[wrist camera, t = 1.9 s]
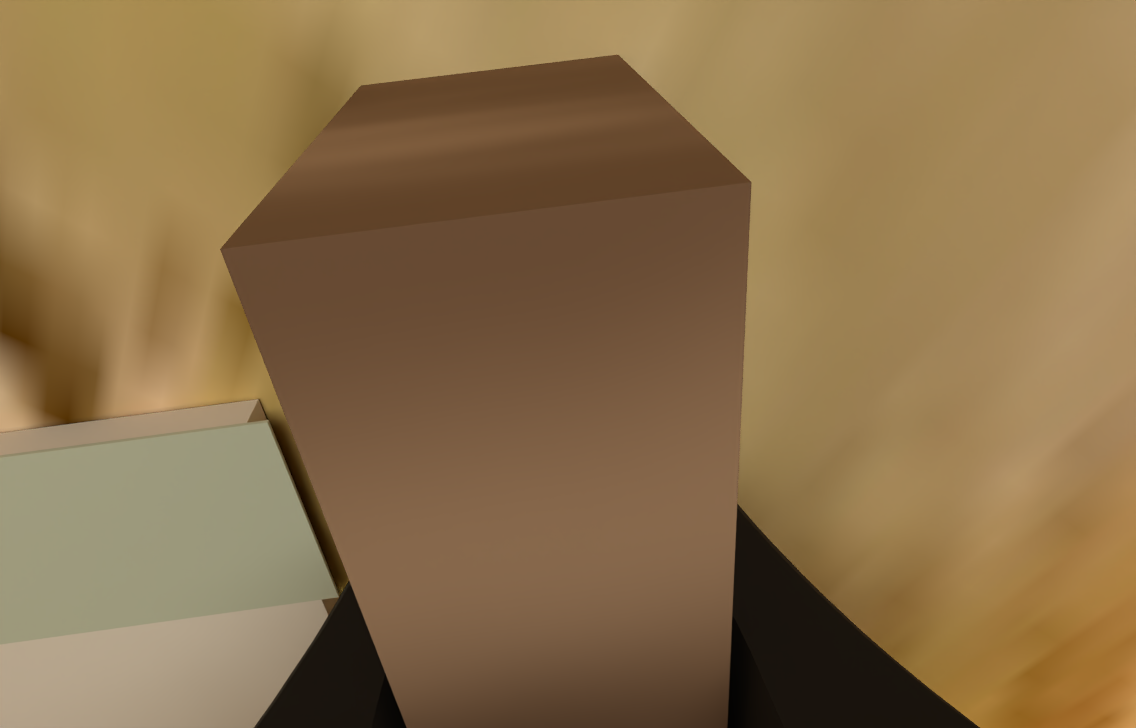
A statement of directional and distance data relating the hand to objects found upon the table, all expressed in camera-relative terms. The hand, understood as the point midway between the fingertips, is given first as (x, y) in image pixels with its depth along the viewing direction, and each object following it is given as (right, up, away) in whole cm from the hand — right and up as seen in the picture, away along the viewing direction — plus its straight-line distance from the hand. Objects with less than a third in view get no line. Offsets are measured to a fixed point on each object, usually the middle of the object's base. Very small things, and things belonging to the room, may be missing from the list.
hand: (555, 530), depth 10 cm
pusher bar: (0, +1, +1) cm, 2 cm away
